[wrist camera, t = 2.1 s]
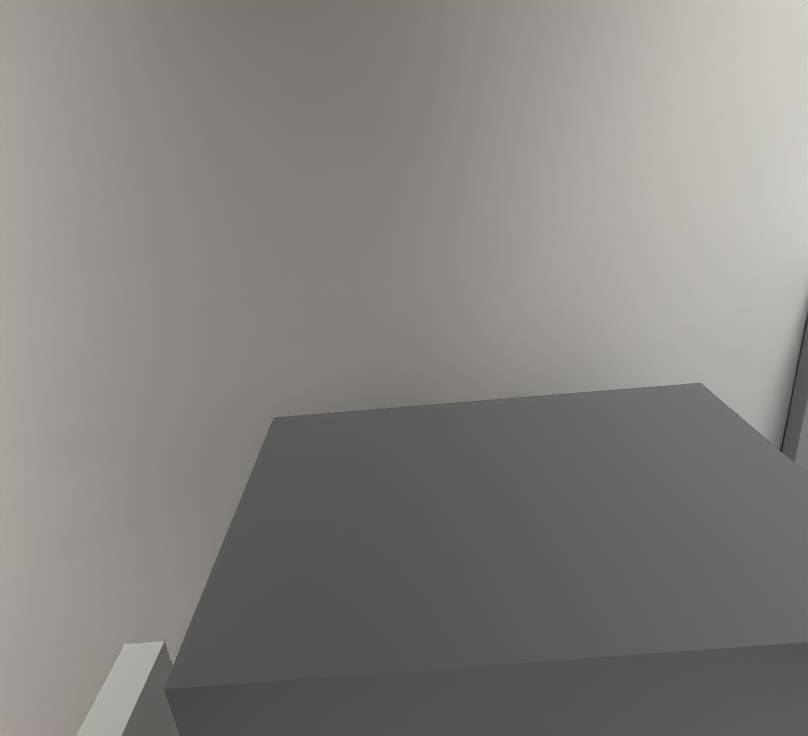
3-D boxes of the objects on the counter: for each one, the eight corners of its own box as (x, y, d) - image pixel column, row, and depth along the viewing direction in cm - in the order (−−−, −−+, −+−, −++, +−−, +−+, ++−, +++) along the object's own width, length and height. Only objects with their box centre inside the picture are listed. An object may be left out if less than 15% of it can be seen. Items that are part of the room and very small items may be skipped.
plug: (290, 376, 13) (163, 689, 6) (657, 346, 13) (988, 627, 6) (337, 650, 17) (293, 1066, 9) (631, 628, 17) (821, 1033, 9)
